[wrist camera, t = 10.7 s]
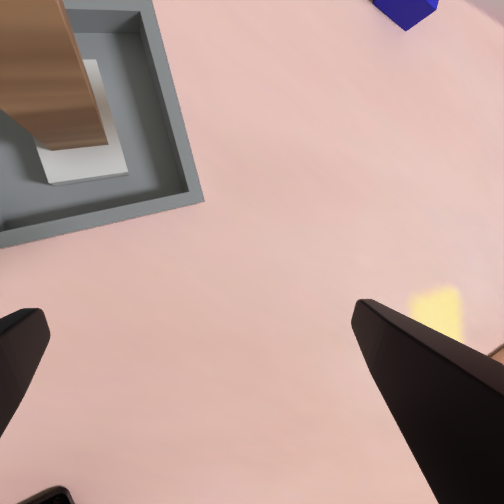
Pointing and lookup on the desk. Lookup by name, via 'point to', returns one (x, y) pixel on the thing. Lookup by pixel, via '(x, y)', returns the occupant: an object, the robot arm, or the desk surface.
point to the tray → (127, 126)
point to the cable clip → (406, 10)
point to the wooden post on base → (56, 94)
